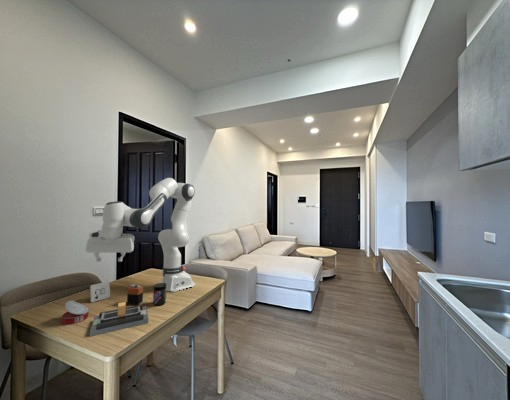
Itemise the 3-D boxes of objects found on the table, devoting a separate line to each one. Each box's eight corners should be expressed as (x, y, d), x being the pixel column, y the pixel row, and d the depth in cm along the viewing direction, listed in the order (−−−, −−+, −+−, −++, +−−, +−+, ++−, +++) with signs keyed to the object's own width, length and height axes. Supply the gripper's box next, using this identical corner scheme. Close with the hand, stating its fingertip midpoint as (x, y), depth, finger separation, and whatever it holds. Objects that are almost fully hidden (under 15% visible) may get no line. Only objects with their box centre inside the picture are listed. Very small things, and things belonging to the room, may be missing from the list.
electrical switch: (90, 303, 118) (91, 286, 119) (88, 301, 121) (88, 284, 122) (110, 298, 125) (110, 281, 126) (107, 296, 128) (107, 280, 129)
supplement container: (152, 302, 121) (153, 284, 121) (164, 300, 124) (165, 282, 124) (153, 307, 115) (154, 288, 115) (166, 304, 118) (167, 286, 119)
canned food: (75, 324, 105) (85, 302, 110) (88, 326, 102) (98, 303, 107) (50, 323, 96) (62, 299, 101) (63, 325, 93) (75, 300, 98)
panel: (146, 310, 112) (146, 301, 112) (148, 322, 100) (148, 313, 100) (94, 320, 100) (94, 311, 101) (89, 336, 88) (90, 325, 89)
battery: (132, 300, 122) (132, 283, 122) (142, 301, 121) (143, 284, 121) (126, 304, 118) (127, 286, 118) (137, 305, 117) (138, 287, 117)
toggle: (125, 314, 103) (125, 301, 103) (125, 318, 99) (125, 305, 99) (117, 315, 101) (118, 303, 101) (117, 319, 98) (118, 306, 98)
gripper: (136, 233, 111) (134, 259, 110) (92, 232, 106) (89, 260, 105) (132, 234, 105) (130, 262, 104) (85, 233, 100) (82, 263, 99)
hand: (109, 261), depth 105 cm, fingers open, 8 cm apart
